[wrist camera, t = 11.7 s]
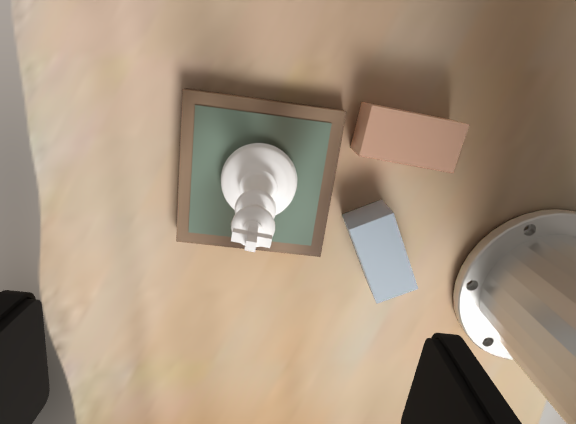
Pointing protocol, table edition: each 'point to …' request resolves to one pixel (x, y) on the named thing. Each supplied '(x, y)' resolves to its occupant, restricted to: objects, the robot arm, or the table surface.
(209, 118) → the green-topped square tray
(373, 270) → the slate-blue brick
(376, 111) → the terracotta brick
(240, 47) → the table surface
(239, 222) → the chess piece
